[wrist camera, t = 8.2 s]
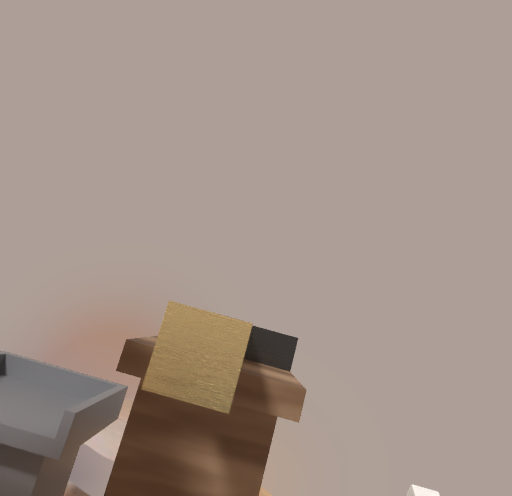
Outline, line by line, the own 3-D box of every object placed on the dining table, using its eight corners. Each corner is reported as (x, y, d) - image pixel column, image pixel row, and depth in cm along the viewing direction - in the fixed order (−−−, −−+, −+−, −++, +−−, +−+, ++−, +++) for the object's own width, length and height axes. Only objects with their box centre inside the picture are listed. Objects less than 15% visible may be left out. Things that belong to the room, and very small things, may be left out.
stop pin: (362, 452, 12) (380, 358, 13) (12, 352, 13) (45, 266, 13) (286, 368, 36) (294, 337, 37) (167, 334, 36) (176, 304, 37)
